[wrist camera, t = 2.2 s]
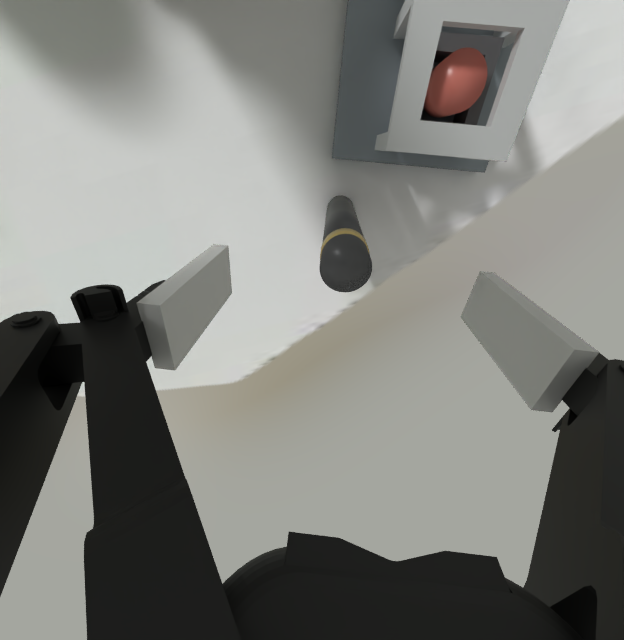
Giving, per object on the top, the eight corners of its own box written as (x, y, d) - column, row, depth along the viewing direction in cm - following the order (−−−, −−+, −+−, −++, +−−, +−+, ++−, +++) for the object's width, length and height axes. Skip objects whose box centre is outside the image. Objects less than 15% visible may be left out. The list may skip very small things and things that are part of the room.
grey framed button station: (365, -170, 19) (385, -371, 11) (591, -152, 18) (757, -347, 11) (332, 157, 29) (331, 160, 21) (477, 171, 28) (526, 179, 21)
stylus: (327, 193, 30) (321, 239, 15) (356, 196, 30) (378, 244, 15) (325, 223, 32) (316, 290, 17) (351, 225, 32) (367, 295, 17)
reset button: (428, 58, 22) (442, 45, 19) (475, 62, 22) (496, 49, 19) (415, 115, 23) (426, 111, 21) (458, 119, 23) (475, 115, 21)
